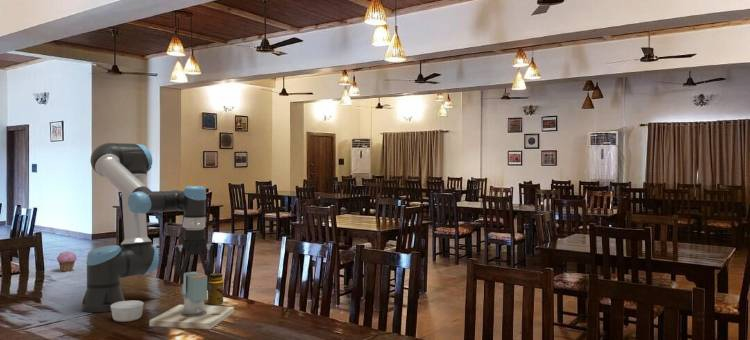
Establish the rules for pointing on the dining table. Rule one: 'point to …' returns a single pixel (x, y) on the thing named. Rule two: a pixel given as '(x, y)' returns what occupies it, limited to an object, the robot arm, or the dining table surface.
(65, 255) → the cupcake
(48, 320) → the dining table surface
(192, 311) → the teal block on base
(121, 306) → the ramekin
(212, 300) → the condiment
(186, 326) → the post base
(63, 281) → the dining table surface
